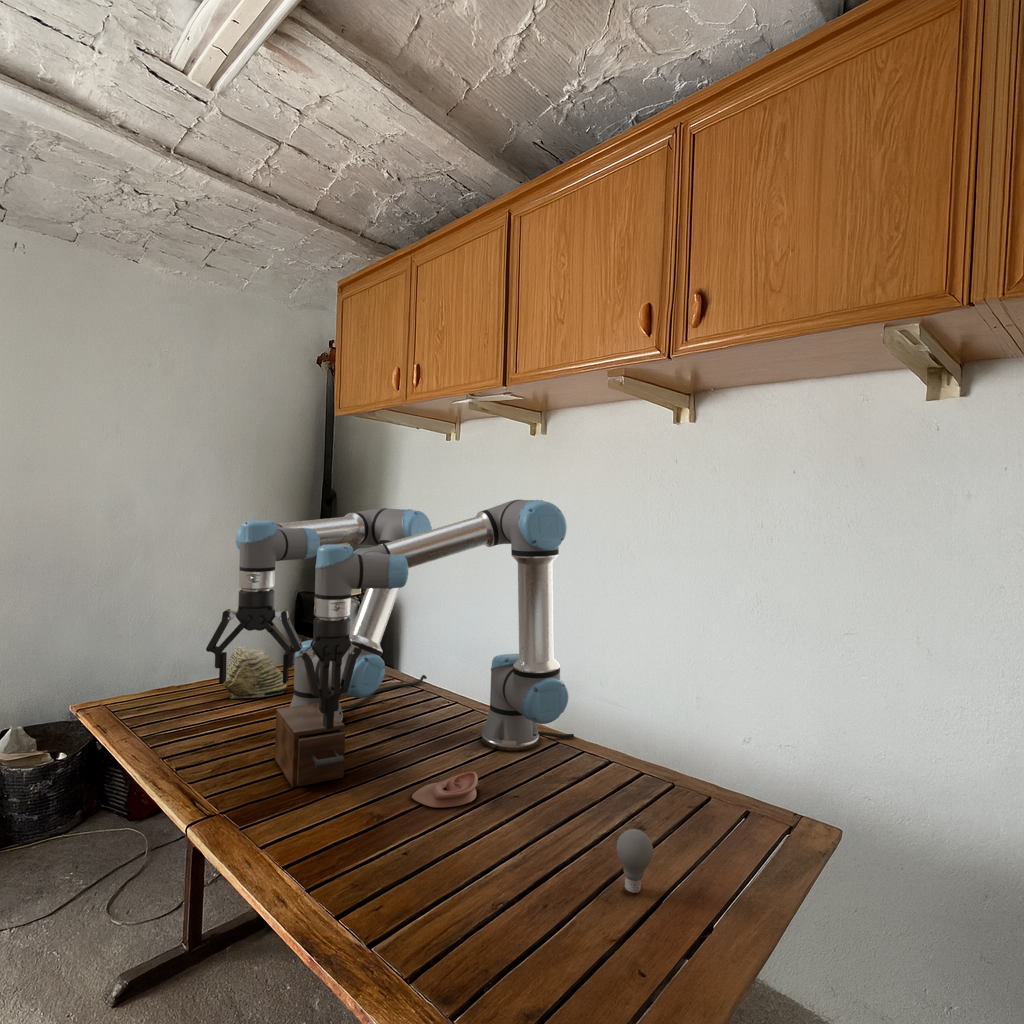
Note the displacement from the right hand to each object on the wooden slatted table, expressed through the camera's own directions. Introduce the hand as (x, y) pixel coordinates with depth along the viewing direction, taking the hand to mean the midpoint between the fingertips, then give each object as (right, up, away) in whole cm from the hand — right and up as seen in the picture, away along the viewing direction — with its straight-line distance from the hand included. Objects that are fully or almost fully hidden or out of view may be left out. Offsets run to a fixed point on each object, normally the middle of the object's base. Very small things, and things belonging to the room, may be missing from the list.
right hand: (328, 726), depth 135 cm
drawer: (-5, -13, +7) cm, 15 cm away
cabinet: (-8, -14, +12) cm, 20 cm away
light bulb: (+60, -17, -30) cm, 69 cm away
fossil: (-41, -11, +63) cm, 76 cm away
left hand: (-19, +7, +8) cm, 22 cm away
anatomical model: (+25, -15, +1) cm, 29 cm away
